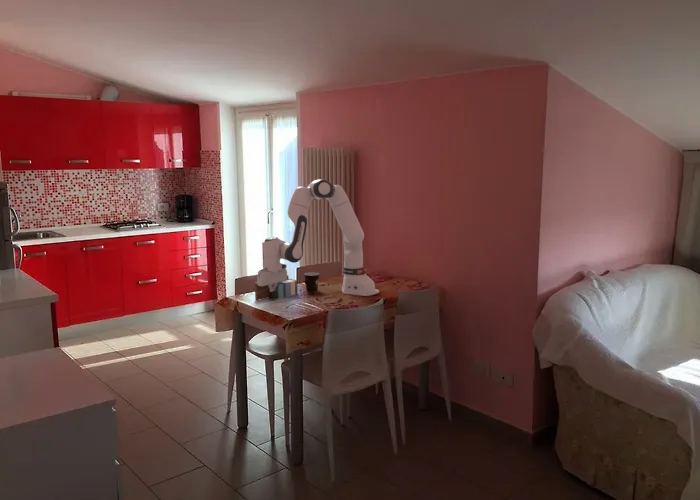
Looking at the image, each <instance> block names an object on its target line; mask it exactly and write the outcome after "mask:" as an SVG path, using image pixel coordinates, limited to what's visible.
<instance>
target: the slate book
mask: <svg viewBox="0 0 700 500" xmlns="http://www.w3.org/2000/svg"><path fill="white" fill-rule="evenodd" d="M279 283H282V284H283V293H284V297H285V298H288V297H291V293H290V282H287V281H282V282H279Z"/></svg>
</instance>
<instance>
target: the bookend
mask: <svg viewBox="0 0 700 500" xmlns="http://www.w3.org/2000/svg"><path fill="white" fill-rule="evenodd" d="M272 287H273V285H272ZM265 299H266V300H269V301H271V302H272V301H277V300H280V299H279V287H278V286H276V288H275V291H273V292H272V297H269V298H265Z"/></svg>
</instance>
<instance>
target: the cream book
mask: <svg viewBox="0 0 700 500" xmlns="http://www.w3.org/2000/svg"><path fill="white" fill-rule="evenodd" d="M293 280H294V279H293ZM293 280H286V281H287V282H290V293H291V296H295V295H296V294H295V281H293ZM291 296H290V297H291Z"/></svg>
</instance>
